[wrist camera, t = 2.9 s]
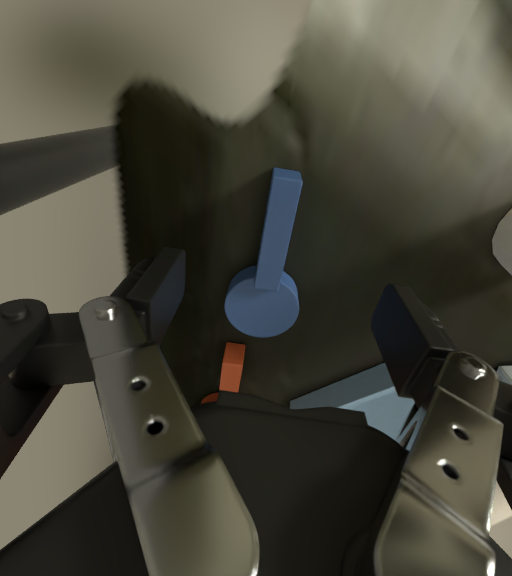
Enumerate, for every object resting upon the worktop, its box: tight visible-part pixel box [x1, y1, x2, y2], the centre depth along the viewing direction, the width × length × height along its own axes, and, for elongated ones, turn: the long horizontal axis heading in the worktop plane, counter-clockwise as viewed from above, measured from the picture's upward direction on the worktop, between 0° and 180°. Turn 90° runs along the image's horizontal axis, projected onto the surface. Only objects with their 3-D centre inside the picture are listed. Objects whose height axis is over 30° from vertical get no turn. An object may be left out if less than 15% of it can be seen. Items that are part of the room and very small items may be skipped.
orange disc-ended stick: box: [201, 342, 245, 403], centre depth 27 cm, size 12×5×2 cm, turn 172°
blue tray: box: [290, 363, 415, 440], centre depth 28 cm, size 13×12×2 cm
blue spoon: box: [224, 168, 303, 337], centre depth 20 cm, size 12×5×2 cm, turn 172°
